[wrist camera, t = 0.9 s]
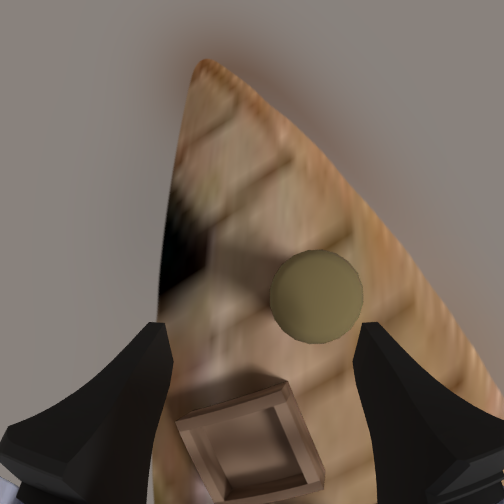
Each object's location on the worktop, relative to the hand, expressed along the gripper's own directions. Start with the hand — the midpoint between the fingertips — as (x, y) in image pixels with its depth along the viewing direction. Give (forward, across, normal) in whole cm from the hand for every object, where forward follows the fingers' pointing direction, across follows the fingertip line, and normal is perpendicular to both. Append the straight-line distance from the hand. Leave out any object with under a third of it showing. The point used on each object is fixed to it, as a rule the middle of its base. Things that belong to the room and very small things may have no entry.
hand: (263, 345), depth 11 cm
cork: (+13, -5, +8) cm, 16 cm away
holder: (+6, 0, +19) cm, 20 cm away
